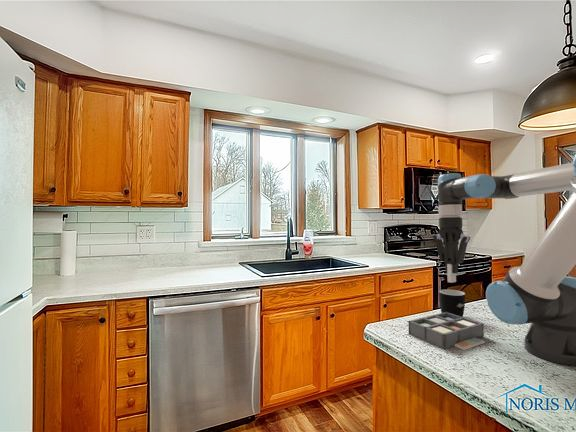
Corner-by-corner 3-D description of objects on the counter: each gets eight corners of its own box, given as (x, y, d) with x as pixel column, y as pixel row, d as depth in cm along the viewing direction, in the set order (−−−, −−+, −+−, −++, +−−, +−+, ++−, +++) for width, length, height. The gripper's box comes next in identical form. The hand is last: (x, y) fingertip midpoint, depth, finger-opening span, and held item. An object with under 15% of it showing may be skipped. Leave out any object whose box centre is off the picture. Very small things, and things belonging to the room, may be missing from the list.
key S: (452, 337, 95) (452, 330, 95) (443, 339, 93) (443, 333, 93) (440, 332, 99) (440, 326, 99) (430, 334, 97) (430, 328, 97)
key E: (436, 333, 101) (436, 327, 101) (426, 335, 99) (426, 329, 99) (424, 328, 105) (424, 322, 105) (415, 330, 103) (415, 325, 103)
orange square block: (464, 335, 98) (464, 329, 98) (455, 338, 96) (455, 332, 96) (451, 331, 102) (451, 325, 102) (443, 333, 100) (443, 327, 100)
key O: (476, 330, 101) (476, 324, 101) (467, 332, 99) (467, 326, 99) (463, 325, 105) (463, 320, 105) (454, 328, 103) (454, 322, 103)
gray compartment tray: (493, 340, 97) (493, 326, 97) (454, 353, 89) (453, 338, 89) (446, 323, 112) (446, 312, 112) (408, 333, 103) (408, 321, 103)
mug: (458, 323, 112) (458, 296, 112) (435, 317, 119) (434, 291, 119) (473, 317, 119) (472, 291, 119) (449, 311, 126) (449, 287, 126)
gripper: (474, 216, 105) (476, 283, 105) (440, 216, 117) (441, 277, 116) (461, 216, 102) (463, 286, 101) (427, 217, 113) (429, 279, 113)
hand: (451, 281), depth 109 cm, fingers closed
